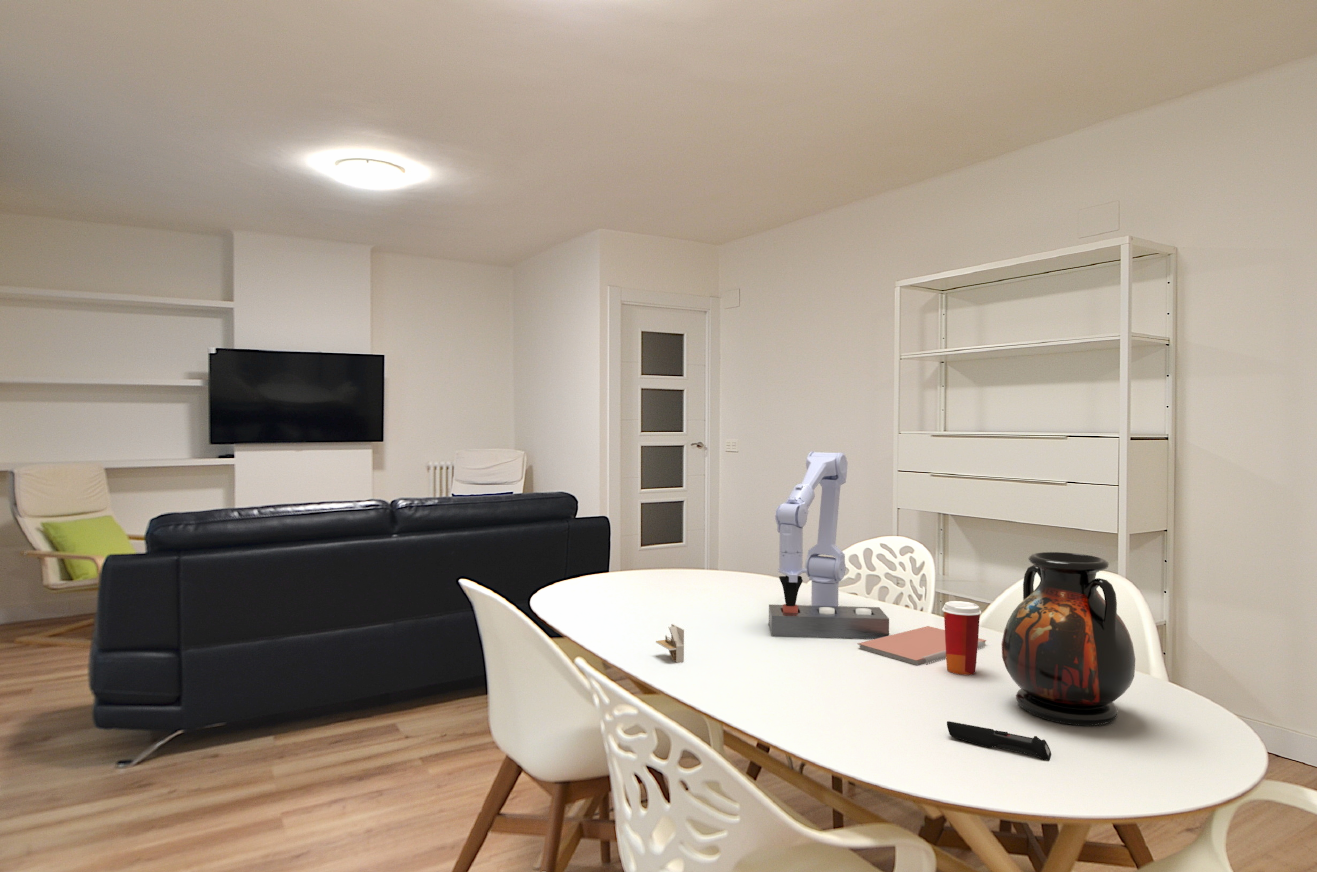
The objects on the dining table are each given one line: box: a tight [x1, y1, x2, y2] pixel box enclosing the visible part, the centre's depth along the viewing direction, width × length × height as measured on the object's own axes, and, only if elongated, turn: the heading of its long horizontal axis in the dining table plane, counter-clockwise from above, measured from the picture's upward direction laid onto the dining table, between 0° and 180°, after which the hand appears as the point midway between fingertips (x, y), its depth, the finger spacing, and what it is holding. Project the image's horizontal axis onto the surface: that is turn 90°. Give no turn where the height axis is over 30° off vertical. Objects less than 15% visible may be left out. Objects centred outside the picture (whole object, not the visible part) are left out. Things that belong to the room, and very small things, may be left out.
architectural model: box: [655, 623, 685, 664], centre depth 173 cm, size 3×7×7 cm, turn 27°
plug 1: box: [819, 607, 835, 614], centre depth 196 cm, size 4×4×5 cm
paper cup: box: [941, 600, 982, 676], centre depth 165 cm, size 8×8×14 cm
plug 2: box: [856, 608, 871, 615], centre depth 195 cm, size 4×4×5 cm
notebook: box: [857, 625, 987, 666], centre depth 183 cm, size 27×17×2 cm, turn 127°
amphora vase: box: [1001, 551, 1136, 727], centre depth 142 cm, size 22×22×28 cm
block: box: [768, 604, 890, 640], centre depth 196 cm, size 12×28×5 cm, turn 85°
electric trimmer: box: [946, 720, 1052, 761], centre depth 127 cm, size 4×16×3 cm, turn 57°
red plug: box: [782, 603, 799, 613], centre depth 197 cm, size 4×4×5 cm
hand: (790, 605), depth 197 cm, fingers closed, pressing on red plug
